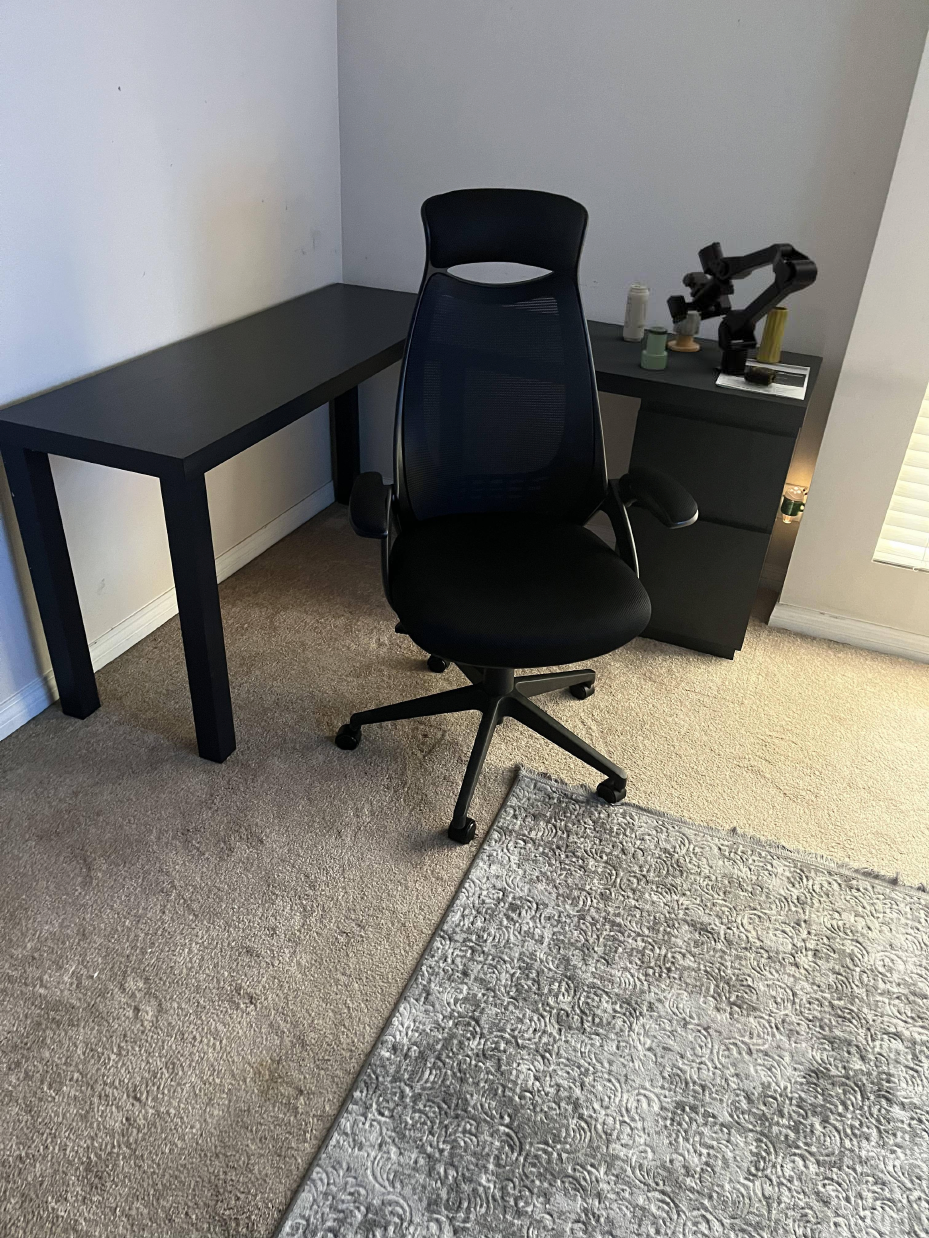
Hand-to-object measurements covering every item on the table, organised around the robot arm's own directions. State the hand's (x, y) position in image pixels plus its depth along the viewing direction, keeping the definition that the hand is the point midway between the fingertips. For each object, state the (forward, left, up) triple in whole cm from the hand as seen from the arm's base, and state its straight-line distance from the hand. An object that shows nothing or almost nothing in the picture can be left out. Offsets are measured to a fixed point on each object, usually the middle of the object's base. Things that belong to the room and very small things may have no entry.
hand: (684, 321), depth 252 cm
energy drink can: (+11, +10, -7) cm, 16 cm away
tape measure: (-37, 0, -7) cm, 38 cm away
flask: (-15, +19, -7) cm, 25 cm away
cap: (-1, 0, -2) cm, 3 cm away
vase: (-19, -16, -7) cm, 26 cm away
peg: (-1, 0, -7) cm, 7 cm away
